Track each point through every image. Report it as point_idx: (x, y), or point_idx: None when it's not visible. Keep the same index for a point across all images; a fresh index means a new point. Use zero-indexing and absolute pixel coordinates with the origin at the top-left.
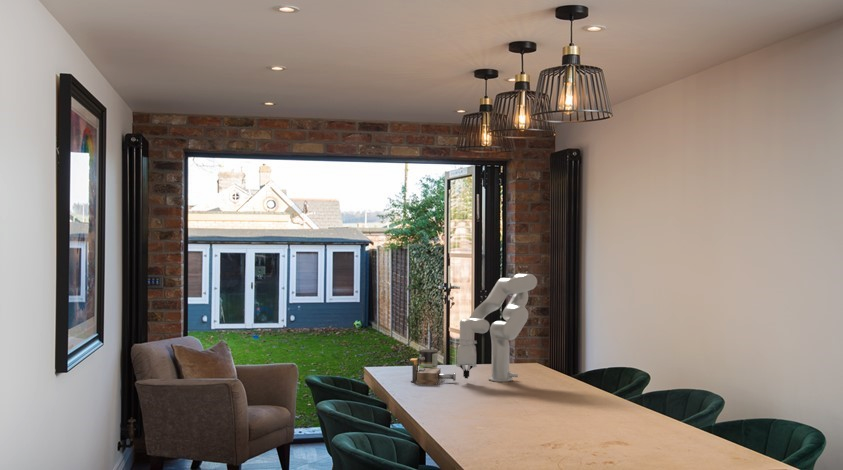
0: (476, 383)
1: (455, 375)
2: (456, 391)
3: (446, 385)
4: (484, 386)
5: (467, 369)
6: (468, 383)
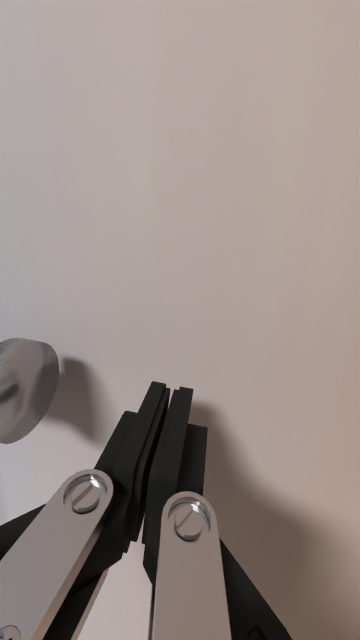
0: (288, 410)
1: (16, 387)
2: (116, 629)
3: (24, 471)
4: (334, 546)
5: (154, 590)
6: (201, 405)
